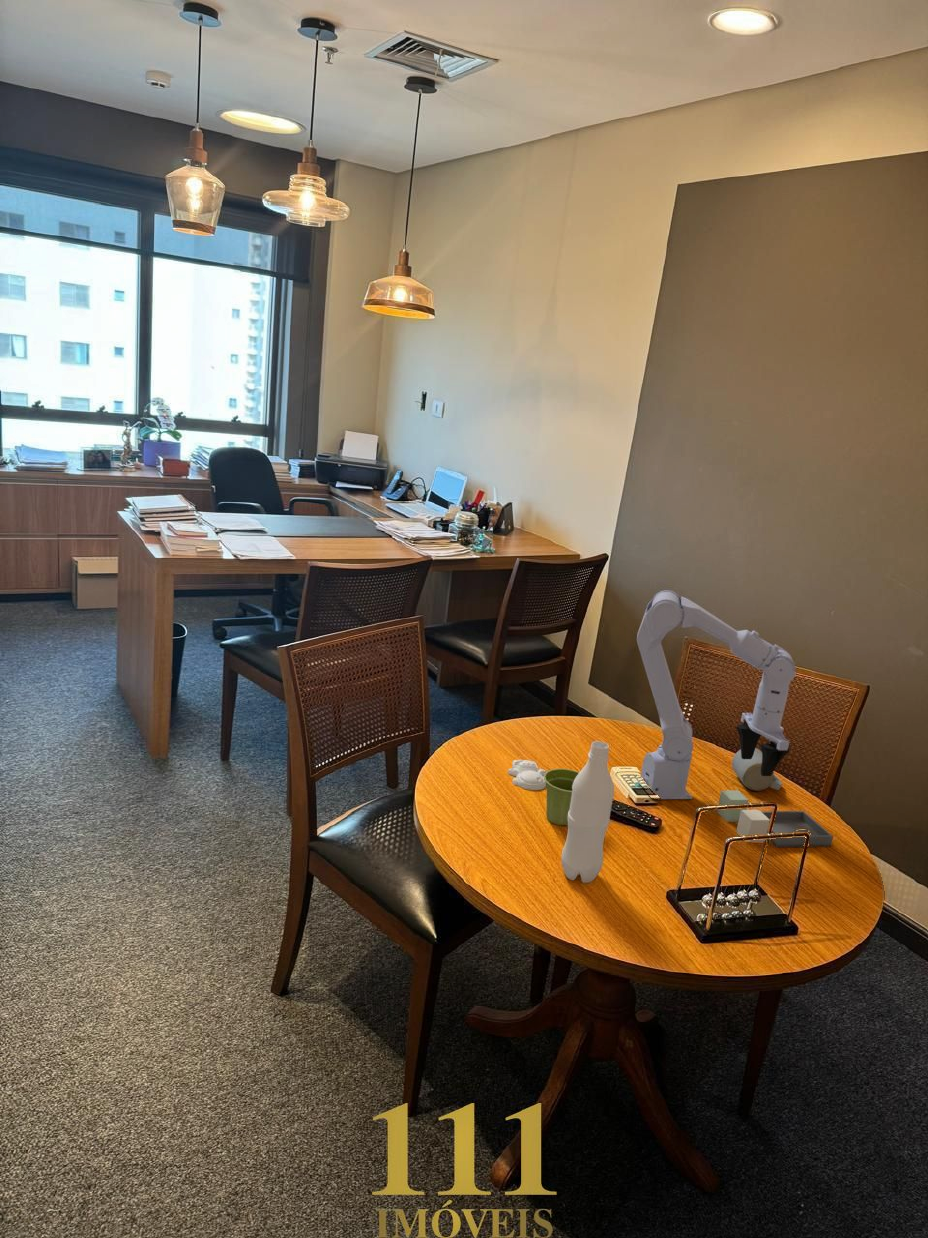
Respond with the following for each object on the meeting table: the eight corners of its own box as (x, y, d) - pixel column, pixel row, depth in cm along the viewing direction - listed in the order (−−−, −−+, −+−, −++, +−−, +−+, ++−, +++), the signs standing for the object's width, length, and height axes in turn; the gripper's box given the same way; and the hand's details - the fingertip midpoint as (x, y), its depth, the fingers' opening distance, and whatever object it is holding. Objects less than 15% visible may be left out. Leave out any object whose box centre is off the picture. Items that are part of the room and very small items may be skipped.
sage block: (726, 821, 170) (730, 800, 169) (716, 811, 174) (721, 790, 172) (743, 821, 171) (748, 799, 169) (733, 811, 175) (738, 790, 173)
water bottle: (590, 892, 141) (612, 758, 134) (552, 876, 144) (572, 745, 137) (606, 873, 147) (628, 744, 140) (569, 858, 150) (589, 732, 143)
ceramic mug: (740, 791, 184) (747, 760, 182) (728, 774, 192) (735, 744, 190) (786, 796, 185) (794, 765, 182) (772, 779, 192) (780, 749, 190)
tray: (777, 847, 162) (779, 837, 161) (750, 821, 171) (752, 811, 171) (830, 846, 164) (833, 836, 164) (801, 820, 174) (803, 810, 173)
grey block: (746, 843, 162) (751, 820, 161) (736, 832, 166) (741, 810, 165) (764, 842, 163) (769, 820, 162) (754, 831, 167) (759, 809, 166)
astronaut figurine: (544, 768, 186) (546, 755, 185) (550, 793, 175) (552, 780, 174) (506, 764, 186) (507, 752, 185) (509, 789, 174) (511, 776, 174)
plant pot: (594, 821, 164) (601, 782, 162) (566, 836, 158) (573, 796, 155) (557, 802, 170) (562, 764, 168) (528, 816, 164) (534, 777, 161)
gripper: (807, 721, 165) (792, 783, 169) (766, 694, 178) (754, 751, 182) (776, 721, 163) (762, 783, 167) (737, 693, 177) (725, 751, 180)
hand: (755, 766), depth 174 cm, fingers open, 7 cm apart
